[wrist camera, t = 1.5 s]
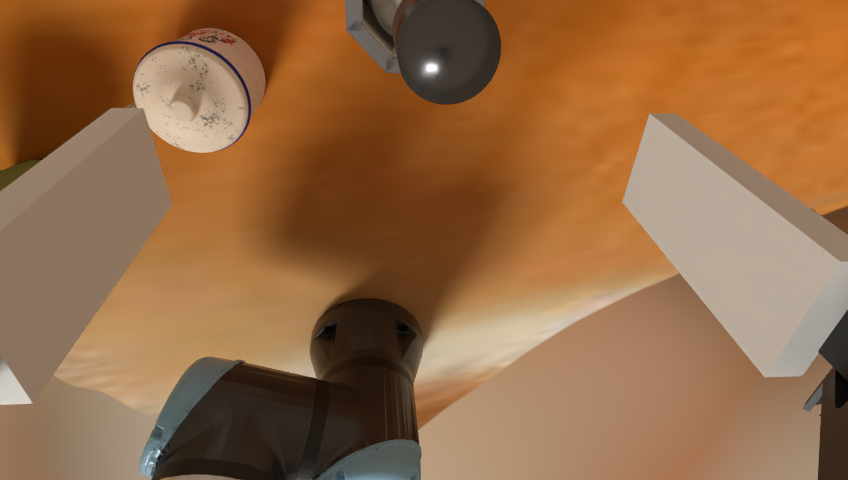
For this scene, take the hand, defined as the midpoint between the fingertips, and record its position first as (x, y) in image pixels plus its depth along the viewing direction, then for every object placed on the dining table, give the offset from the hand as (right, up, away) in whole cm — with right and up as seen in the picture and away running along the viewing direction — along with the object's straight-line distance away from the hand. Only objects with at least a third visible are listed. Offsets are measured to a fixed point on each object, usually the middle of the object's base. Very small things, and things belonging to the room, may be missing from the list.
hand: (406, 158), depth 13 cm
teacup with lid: (-21, +14, +34) cm, 42 cm away
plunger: (0, +16, +22) cm, 27 cm away
